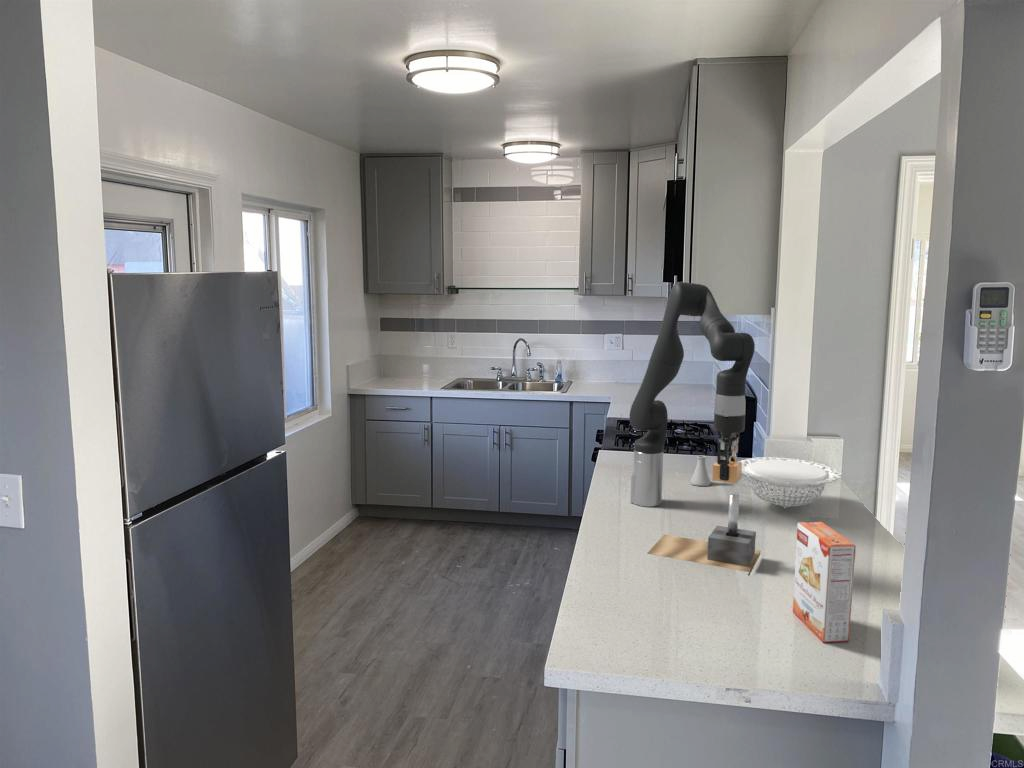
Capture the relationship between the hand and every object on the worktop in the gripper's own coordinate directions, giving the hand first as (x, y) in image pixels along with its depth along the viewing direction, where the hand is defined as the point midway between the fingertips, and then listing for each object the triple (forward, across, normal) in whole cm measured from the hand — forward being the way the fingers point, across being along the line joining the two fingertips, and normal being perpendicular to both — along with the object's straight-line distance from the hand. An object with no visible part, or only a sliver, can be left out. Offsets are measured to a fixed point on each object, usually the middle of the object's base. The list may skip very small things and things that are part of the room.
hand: (727, 476), depth 193 cm
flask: (+22, -68, -23) cm, 75 cm away
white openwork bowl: (+22, -53, +7) cm, 58 cm away
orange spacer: (+1, 0, 0) cm, 1 cm away
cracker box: (+23, +28, +26) cm, 45 cm away
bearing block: (+22, -1, -5) cm, 23 cm away
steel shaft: (+16, -1, +2) cm, 16 cm away
